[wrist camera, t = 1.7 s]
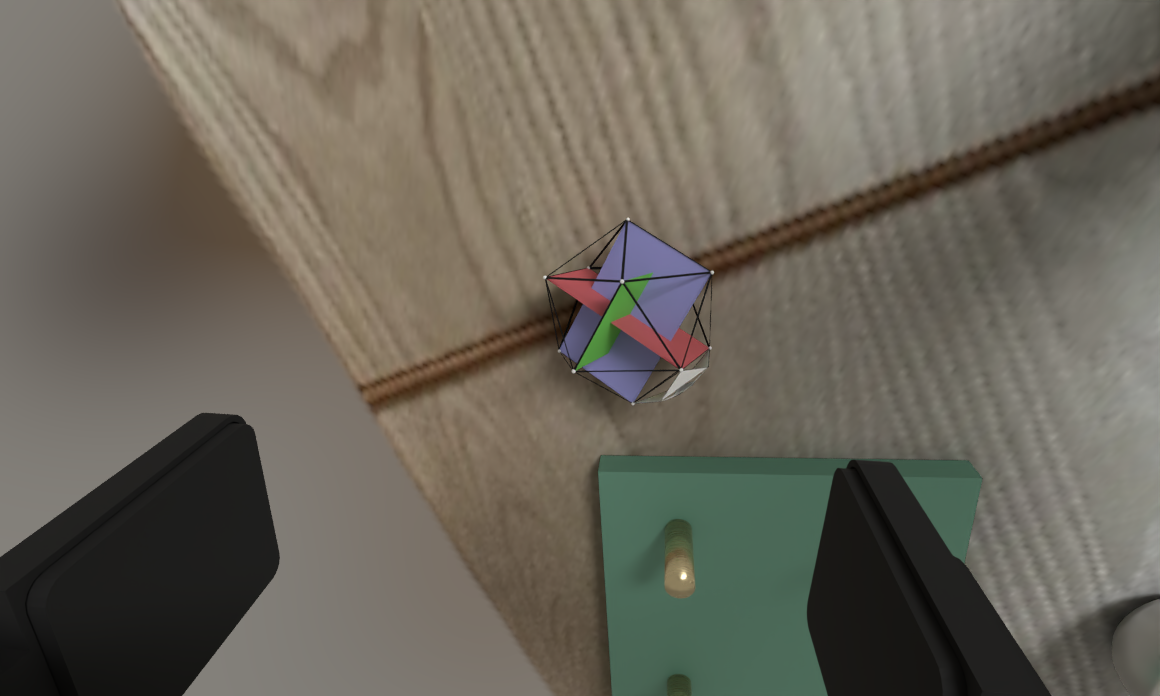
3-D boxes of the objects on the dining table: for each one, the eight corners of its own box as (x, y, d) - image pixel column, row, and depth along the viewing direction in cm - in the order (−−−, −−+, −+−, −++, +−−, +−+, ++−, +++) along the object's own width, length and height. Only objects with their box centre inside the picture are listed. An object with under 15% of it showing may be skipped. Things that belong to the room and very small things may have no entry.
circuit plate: (968, 460, 31) (982, 478, 29) (916, 717, 38) (925, 742, 36) (600, 455, 33) (598, 471, 32) (615, 697, 40) (613, 719, 39)
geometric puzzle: (492, 316, 29) (567, 436, 23) (555, 178, 26) (657, 276, 20) (612, 337, 33) (699, 441, 28) (677, 220, 30) (788, 310, 25)
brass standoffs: (899, 525, 31) (930, 584, 27) (870, 703, 36) (894, 774, 32) (664, 518, 33) (664, 574, 29) (667, 690, 37) (667, 756, 34)
